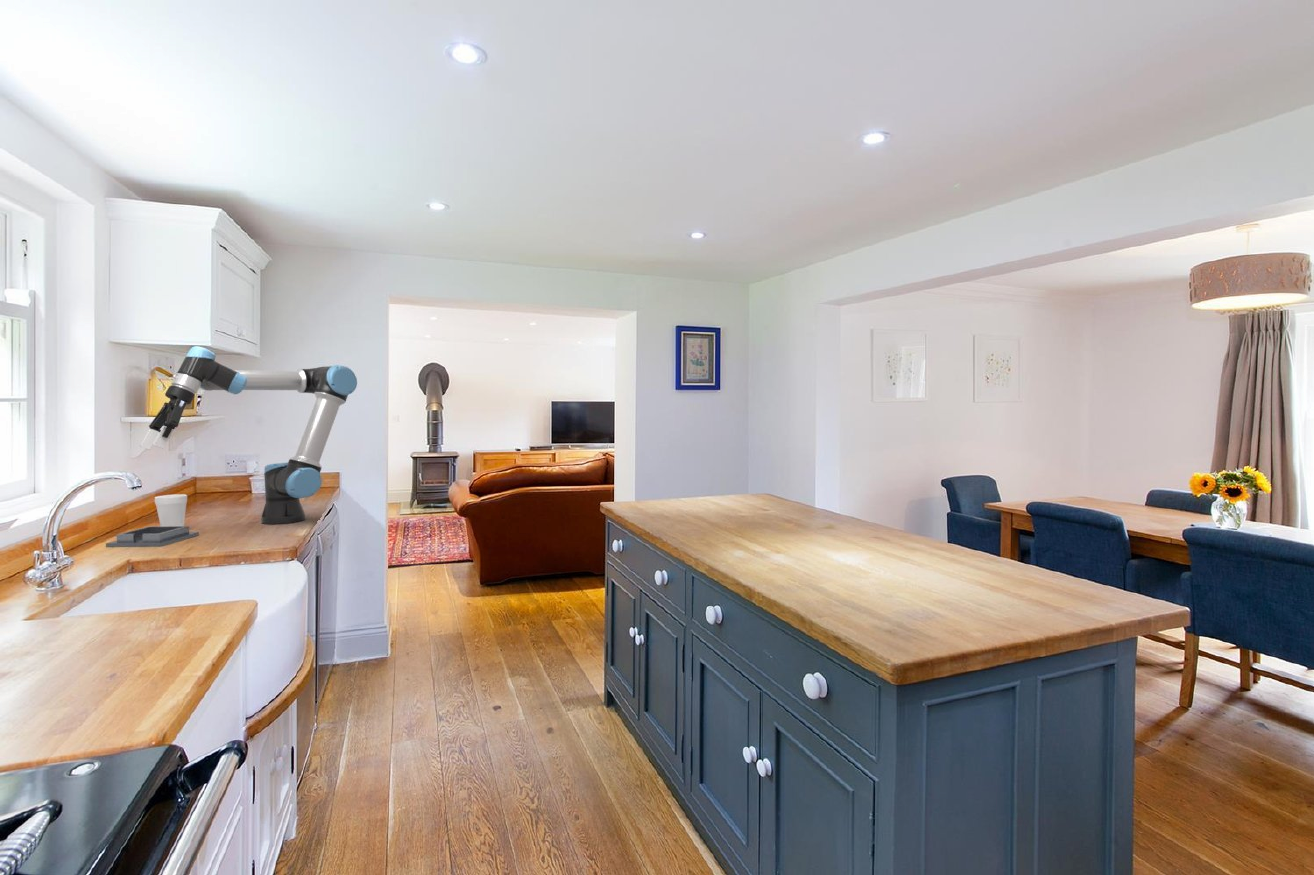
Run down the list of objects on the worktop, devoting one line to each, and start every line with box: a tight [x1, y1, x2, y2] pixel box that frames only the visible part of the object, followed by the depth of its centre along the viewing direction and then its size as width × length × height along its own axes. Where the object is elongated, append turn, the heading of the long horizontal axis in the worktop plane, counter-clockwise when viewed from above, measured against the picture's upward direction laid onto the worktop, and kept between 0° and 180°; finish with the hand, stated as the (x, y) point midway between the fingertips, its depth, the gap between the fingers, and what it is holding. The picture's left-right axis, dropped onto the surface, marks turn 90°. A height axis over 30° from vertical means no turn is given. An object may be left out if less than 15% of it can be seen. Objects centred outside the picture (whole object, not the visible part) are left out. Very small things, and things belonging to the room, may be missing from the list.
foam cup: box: [154, 493, 188, 526], centre depth 240 cm, size 10×9×13 cm
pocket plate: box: [105, 525, 200, 548], centre depth 223 cm, size 18×18×4 cm
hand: (151, 447), depth 211 cm, fingers open, 13 cm apart
